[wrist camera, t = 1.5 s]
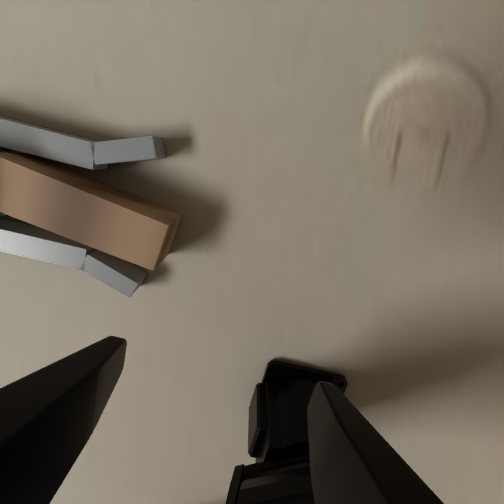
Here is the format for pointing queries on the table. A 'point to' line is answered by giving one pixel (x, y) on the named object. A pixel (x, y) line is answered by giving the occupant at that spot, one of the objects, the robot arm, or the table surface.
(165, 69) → the table surface
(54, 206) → the batten
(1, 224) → the guide
